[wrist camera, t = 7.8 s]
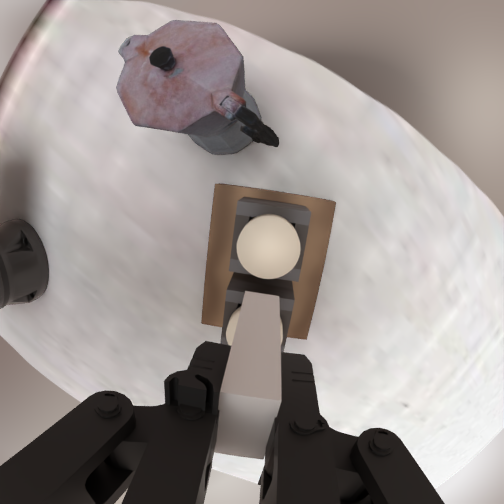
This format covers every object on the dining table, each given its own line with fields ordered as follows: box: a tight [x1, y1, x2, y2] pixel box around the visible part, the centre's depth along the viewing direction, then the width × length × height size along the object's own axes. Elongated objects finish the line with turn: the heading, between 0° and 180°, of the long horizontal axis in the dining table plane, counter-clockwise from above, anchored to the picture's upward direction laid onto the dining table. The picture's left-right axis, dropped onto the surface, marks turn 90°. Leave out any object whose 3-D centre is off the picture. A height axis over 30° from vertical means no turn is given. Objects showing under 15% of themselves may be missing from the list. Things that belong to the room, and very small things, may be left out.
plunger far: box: [226, 307, 283, 346], centre depth 32 cm, size 6×6×8 cm
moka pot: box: [116, 20, 279, 154], centre depth 24 cm, size 10×15×20 cm, turn 56°
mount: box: [201, 183, 336, 352], centre depth 34 cm, size 14×18×8 cm
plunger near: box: [237, 214, 300, 279], centre depth 30 cm, size 6×6×8 cm
